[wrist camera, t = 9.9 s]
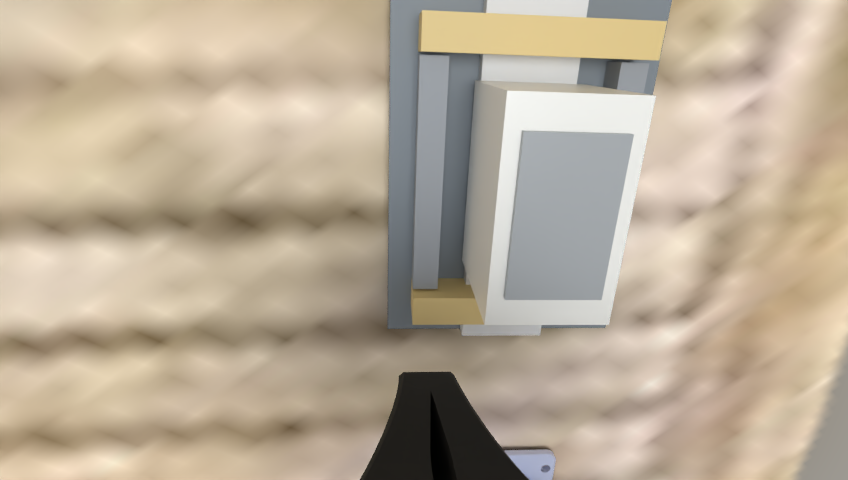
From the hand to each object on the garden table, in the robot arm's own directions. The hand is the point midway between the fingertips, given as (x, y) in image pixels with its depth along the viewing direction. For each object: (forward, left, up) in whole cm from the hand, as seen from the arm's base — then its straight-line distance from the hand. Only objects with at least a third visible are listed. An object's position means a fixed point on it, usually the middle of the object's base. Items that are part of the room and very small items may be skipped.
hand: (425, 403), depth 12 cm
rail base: (+4, -4, -9) cm, 11 cm away
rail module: (+4, -4, -8) cm, 10 cm away
